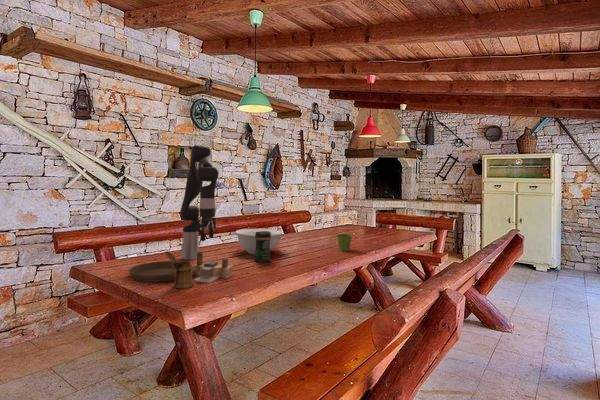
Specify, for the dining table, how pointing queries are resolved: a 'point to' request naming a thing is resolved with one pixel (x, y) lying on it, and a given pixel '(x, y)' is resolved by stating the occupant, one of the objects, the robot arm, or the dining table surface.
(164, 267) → the plant saucer
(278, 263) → the dining table surface
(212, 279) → the stone tile
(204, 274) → the lever cap
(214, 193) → the robot arm
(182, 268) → the turkish coffee pot
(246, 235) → the bowl
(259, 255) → the coffee jar
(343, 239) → the plant pot
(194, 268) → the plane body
